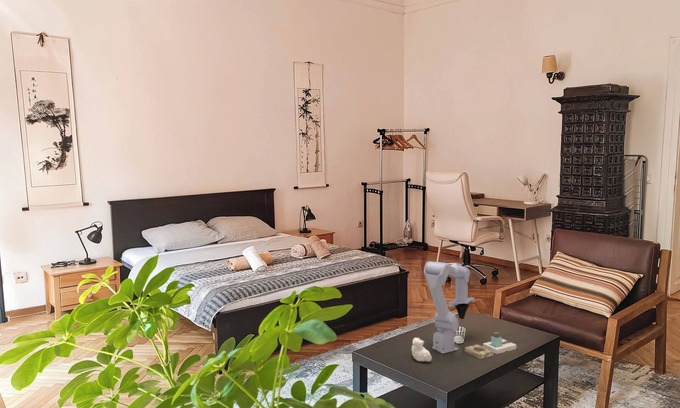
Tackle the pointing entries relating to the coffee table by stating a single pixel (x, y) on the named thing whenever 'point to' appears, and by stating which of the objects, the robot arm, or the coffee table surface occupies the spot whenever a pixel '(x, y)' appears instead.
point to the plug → (496, 340)
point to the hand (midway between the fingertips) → (461, 318)
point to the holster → (482, 354)
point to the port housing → (503, 348)
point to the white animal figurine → (420, 351)
